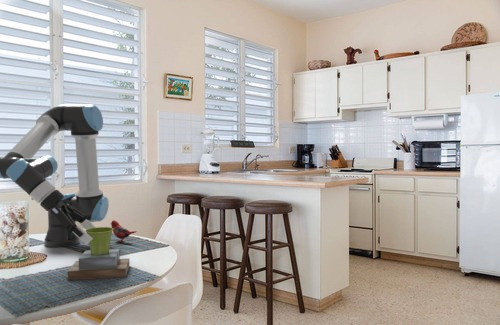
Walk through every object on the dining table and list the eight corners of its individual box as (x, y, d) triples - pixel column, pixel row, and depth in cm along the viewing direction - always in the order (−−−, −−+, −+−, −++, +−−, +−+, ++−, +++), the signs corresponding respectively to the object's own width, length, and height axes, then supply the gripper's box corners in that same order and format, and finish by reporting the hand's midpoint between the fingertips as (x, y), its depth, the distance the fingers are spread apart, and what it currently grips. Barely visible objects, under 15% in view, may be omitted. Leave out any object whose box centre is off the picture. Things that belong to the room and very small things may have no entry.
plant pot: (105, 257, 141) (104, 232, 141) (80, 256, 143) (80, 231, 143) (118, 250, 150) (118, 227, 150) (95, 249, 152) (94, 226, 152)
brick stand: (76, 268, 151) (76, 250, 151) (129, 266, 155) (129, 248, 155) (67, 280, 139) (67, 259, 138) (125, 276, 142) (125, 257, 142)
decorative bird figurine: (113, 239, 200) (112, 219, 199) (139, 244, 191) (139, 222, 190) (108, 240, 197) (108, 220, 197) (134, 245, 188) (134, 223, 188)
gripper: (49, 199, 154) (91, 237, 157) (27, 209, 129) (77, 254, 133) (64, 185, 155) (106, 223, 158) (45, 192, 130) (95, 237, 134)
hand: (93, 237), depth 146 cm, fingers open, 13 cm apart
